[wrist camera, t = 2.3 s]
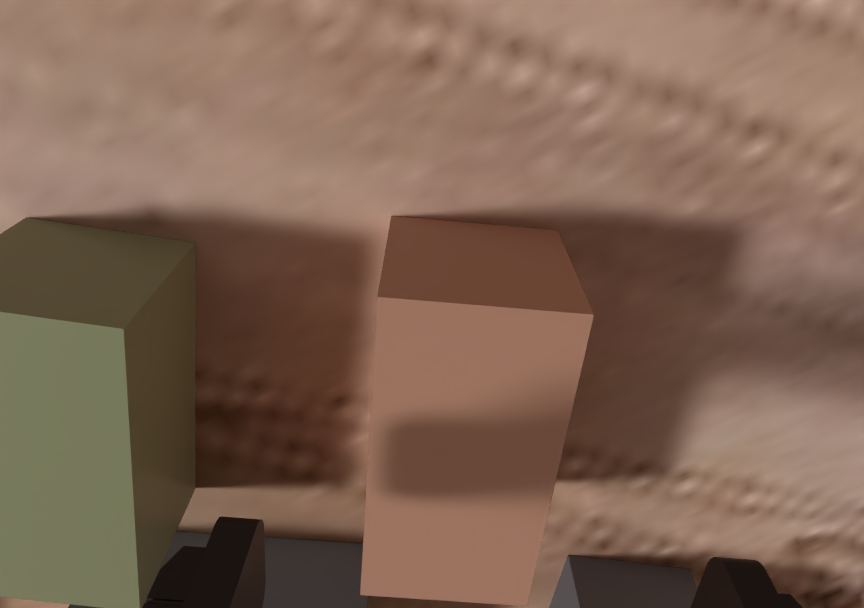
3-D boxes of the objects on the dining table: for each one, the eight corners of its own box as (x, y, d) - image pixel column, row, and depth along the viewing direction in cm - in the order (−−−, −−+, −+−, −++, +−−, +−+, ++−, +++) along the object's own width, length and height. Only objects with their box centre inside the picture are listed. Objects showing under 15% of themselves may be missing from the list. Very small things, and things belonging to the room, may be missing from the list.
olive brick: (29, 215, 16) (-99, 298, 12) (197, 240, 16) (123, 329, 13) (60, 467, 20) (-31, 593, 16) (197, 484, 20) (139, 611, 16)
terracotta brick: (391, 213, 16) (377, 296, 12) (556, 227, 16) (594, 314, 12) (375, 468, 20) (360, 595, 16) (509, 478, 20) (526, 606, 16)
